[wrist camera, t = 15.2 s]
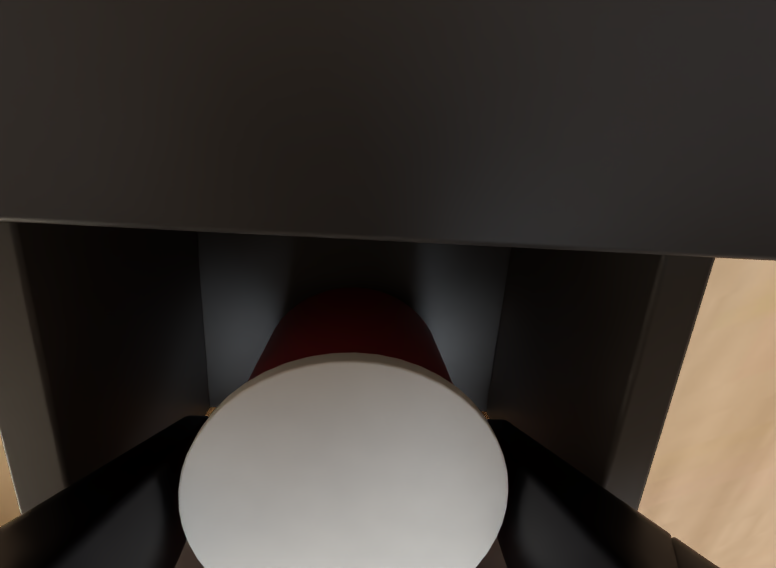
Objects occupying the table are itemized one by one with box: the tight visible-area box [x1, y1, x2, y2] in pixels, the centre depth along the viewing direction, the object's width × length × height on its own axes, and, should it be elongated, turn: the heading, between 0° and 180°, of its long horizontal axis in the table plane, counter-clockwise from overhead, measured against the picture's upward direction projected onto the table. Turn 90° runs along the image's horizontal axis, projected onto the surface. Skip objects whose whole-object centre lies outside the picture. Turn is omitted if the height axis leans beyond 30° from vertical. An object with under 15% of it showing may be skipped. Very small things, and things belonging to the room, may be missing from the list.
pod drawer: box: [0, 221, 715, 568], centre depth 10 cm, size 19×11×7 cm, turn 176°
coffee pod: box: [178, 288, 508, 568], centre depth 8 cm, size 5×5×4 cm
